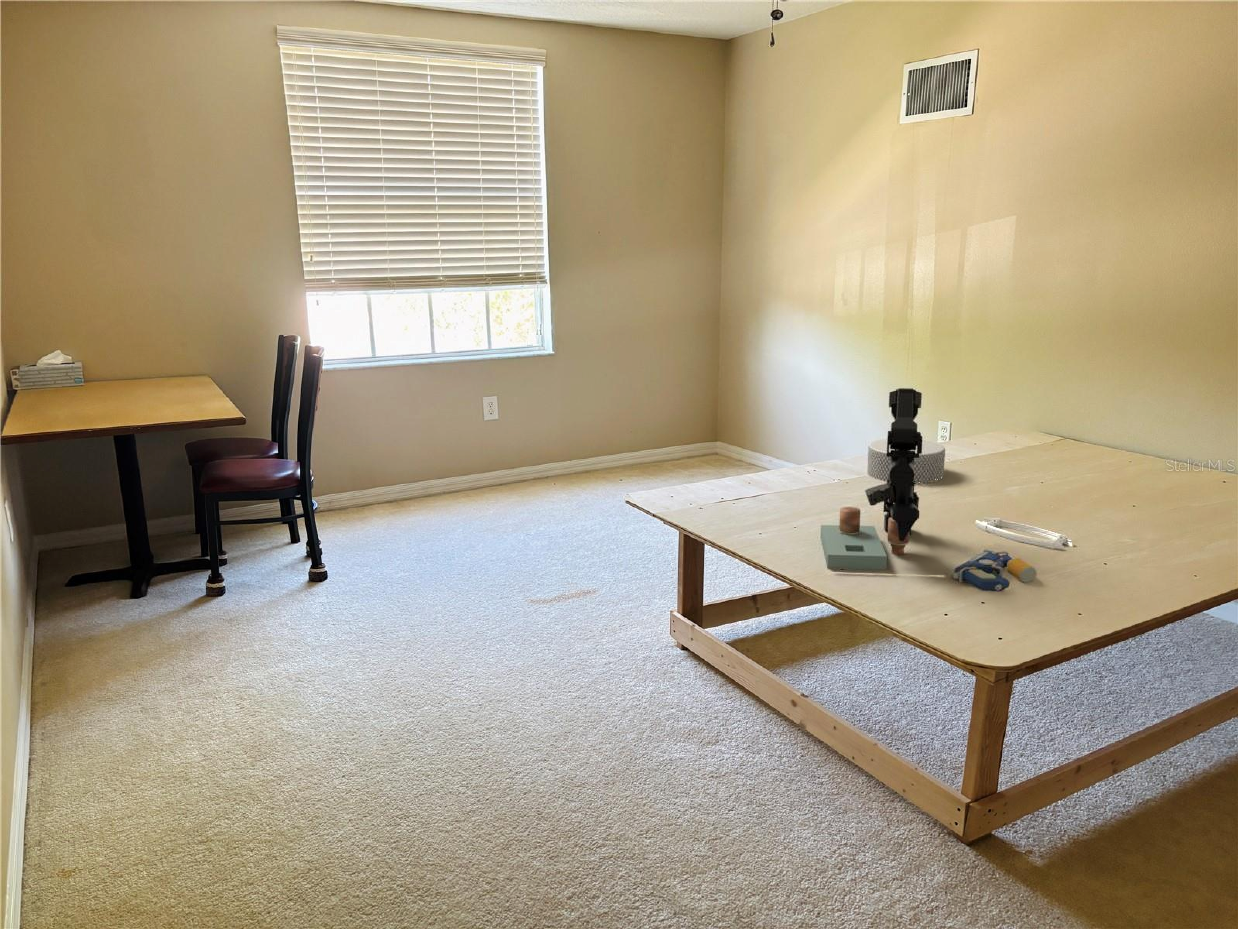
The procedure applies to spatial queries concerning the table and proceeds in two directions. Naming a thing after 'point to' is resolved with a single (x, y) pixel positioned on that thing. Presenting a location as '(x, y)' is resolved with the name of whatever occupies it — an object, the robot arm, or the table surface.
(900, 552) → the peg
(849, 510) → the seated peg
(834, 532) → the board
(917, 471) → the knob
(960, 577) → the spray gun
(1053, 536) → the door handle
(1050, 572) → the table surface
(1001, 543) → the table surface
